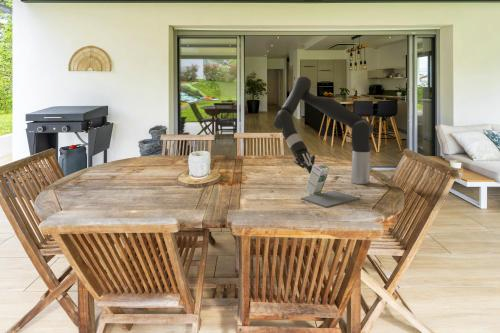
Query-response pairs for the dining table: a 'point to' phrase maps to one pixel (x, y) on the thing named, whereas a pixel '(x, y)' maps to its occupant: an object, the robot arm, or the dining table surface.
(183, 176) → the dining table surface
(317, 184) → the syrup box
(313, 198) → the charcoal mat
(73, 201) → the dining table surface
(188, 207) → the dining table surface
